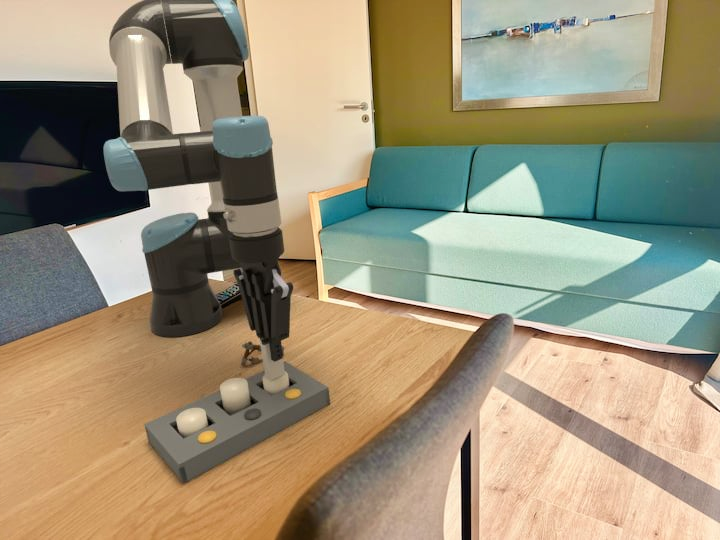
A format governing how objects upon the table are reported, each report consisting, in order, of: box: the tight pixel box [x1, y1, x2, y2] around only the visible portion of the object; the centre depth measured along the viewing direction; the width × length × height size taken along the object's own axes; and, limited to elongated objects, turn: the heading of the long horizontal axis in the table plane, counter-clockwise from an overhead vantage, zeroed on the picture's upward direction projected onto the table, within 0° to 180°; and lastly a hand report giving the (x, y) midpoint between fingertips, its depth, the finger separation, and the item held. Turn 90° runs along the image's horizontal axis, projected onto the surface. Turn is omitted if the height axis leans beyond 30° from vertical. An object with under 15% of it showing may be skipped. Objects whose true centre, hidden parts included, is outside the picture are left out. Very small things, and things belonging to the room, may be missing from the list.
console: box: [144, 360, 331, 485], centre depth 77 cm, size 12×24×3 cm, turn 131°
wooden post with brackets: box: [240, 341, 285, 367], centre depth 95 cm, size 2×8×4 cm, turn 123°
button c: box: [262, 371, 291, 396], centre depth 82 cm, size 4×4×4 cm
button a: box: [176, 408, 209, 439], centre depth 73 cm, size 4×4×4 cm
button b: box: [219, 377, 252, 416], centre depth 77 cm, size 4×4×4 cm
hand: (275, 375), depth 81 cm, fingers closed
